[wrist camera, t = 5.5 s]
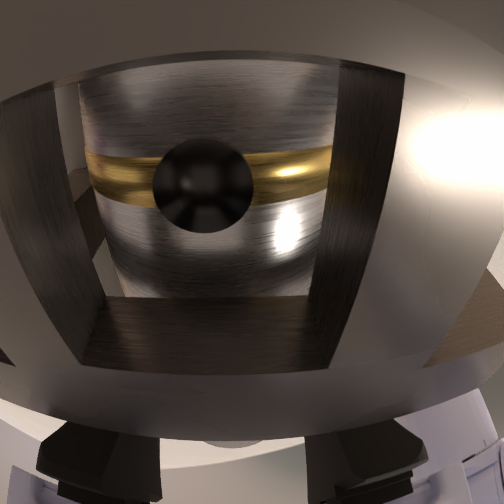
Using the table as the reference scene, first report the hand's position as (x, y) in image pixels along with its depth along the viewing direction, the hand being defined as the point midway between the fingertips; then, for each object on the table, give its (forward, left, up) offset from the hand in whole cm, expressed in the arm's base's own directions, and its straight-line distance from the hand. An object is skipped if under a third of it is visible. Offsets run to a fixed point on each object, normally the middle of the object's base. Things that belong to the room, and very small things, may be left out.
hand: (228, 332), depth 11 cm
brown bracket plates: (+8, 0, -1) cm, 8 cm away
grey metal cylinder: (+4, 0, -1) cm, 4 cm away
